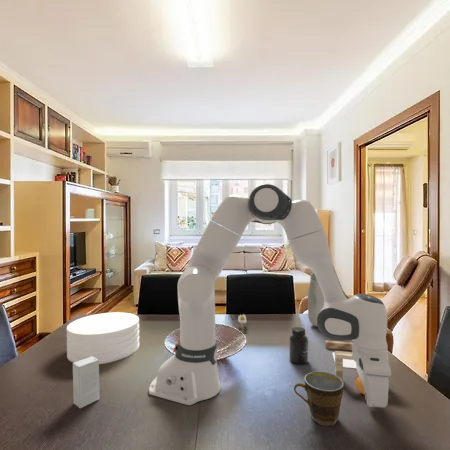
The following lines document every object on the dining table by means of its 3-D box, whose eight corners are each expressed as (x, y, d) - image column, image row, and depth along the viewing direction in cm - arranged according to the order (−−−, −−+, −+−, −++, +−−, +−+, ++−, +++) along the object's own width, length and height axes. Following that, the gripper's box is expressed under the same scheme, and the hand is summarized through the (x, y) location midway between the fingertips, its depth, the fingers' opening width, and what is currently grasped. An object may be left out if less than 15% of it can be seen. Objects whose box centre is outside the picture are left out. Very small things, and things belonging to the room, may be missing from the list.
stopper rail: (325, 348, 124) (325, 342, 124) (325, 346, 126) (325, 340, 126) (367, 351, 120) (367, 345, 120) (366, 349, 122) (366, 343, 122)
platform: (230, 335, 141) (230, 321, 141) (230, 322, 159) (230, 310, 159) (255, 335, 141) (255, 321, 141) (252, 322, 159) (252, 309, 159)
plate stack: (52, 366, 111) (52, 335, 111) (85, 337, 139) (84, 312, 139) (128, 364, 112) (128, 333, 112) (145, 336, 140) (145, 311, 140)
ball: (353, 374, 95) (355, 394, 92) (354, 373, 91) (356, 393, 88) (373, 375, 93) (375, 396, 91) (374, 374, 89) (377, 395, 86)
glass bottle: (310, 321, 157) (309, 268, 157) (330, 324, 153) (330, 269, 152) (306, 327, 148) (305, 271, 148) (328, 330, 144) (327, 272, 144)
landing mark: (335, 366, 108) (335, 366, 108) (332, 352, 120) (332, 352, 120) (372, 370, 105) (372, 369, 105) (364, 355, 117) (364, 354, 117)
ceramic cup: (335, 405, 85) (334, 370, 85) (351, 430, 75) (350, 390, 75) (289, 407, 84) (289, 371, 84) (299, 431, 74) (299, 391, 74)
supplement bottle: (308, 365, 109) (308, 332, 109) (289, 364, 110) (289, 331, 110) (307, 357, 116) (307, 326, 115) (289, 356, 117) (289, 325, 117)
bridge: (385, 388, 94) (385, 358, 94) (336, 382, 97) (336, 354, 97) (382, 383, 96) (382, 354, 96) (335, 378, 100) (334, 350, 100)
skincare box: (92, 394, 92) (92, 355, 92) (100, 399, 89) (99, 359, 89) (72, 403, 87) (72, 362, 87) (79, 409, 84) (78, 367, 84)
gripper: (350, 339, 94) (351, 383, 94) (365, 370, 74) (365, 426, 74) (372, 340, 92) (373, 385, 92) (393, 373, 72) (393, 430, 72)
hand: (369, 403), depth 83 cm, fingers closed
